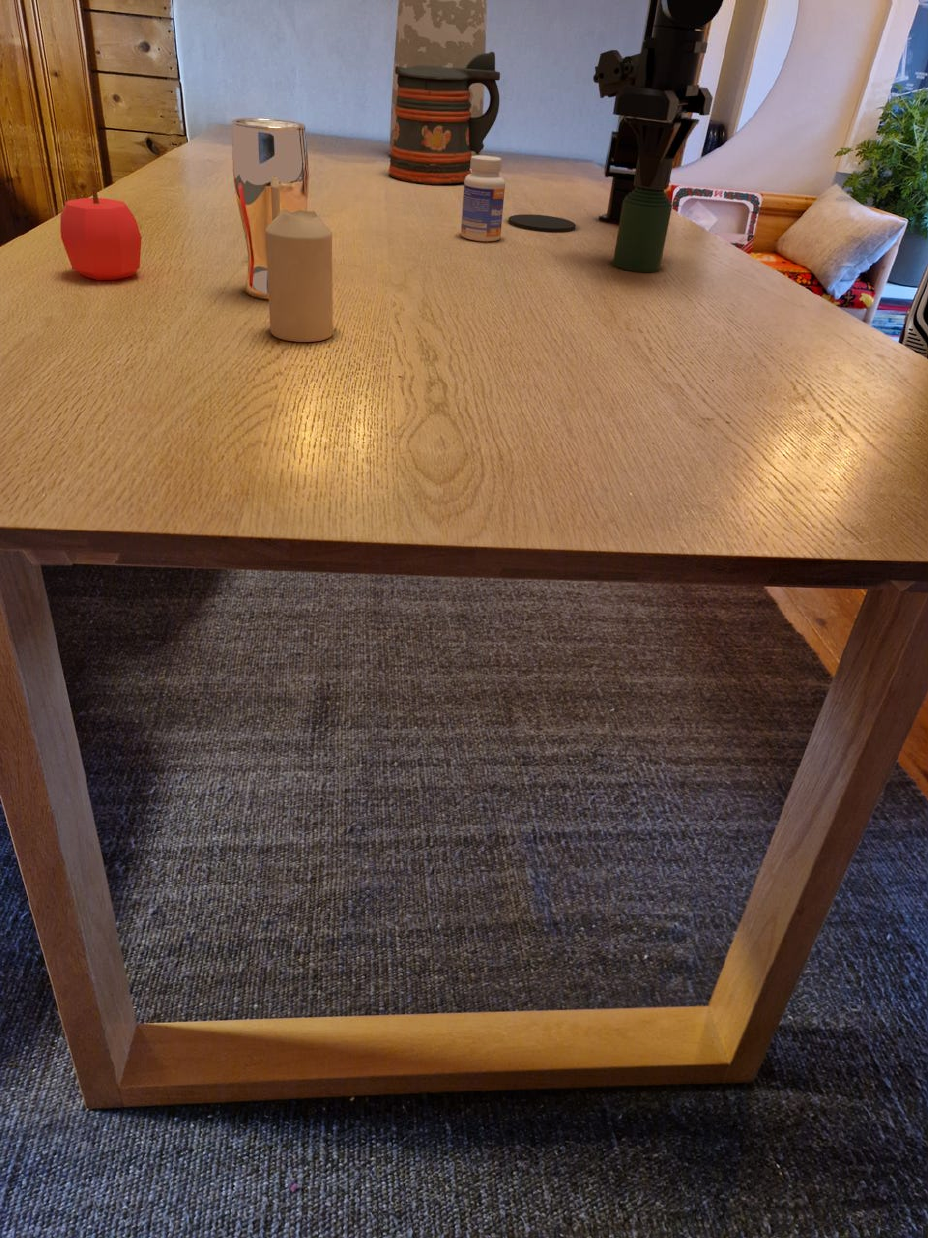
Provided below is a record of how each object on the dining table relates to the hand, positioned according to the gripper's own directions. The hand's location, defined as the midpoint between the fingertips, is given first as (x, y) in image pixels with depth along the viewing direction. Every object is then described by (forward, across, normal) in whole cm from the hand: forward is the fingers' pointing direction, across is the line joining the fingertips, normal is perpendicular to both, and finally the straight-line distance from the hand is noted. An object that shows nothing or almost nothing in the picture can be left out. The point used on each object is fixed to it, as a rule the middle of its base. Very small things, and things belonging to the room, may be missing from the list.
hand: (650, 183), depth 105 cm
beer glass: (+10, +42, -24) cm, 49 cm away
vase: (+10, -61, -65) cm, 90 cm away
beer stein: (+10, -39, -51) cm, 65 cm away
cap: (0, 0, 0) cm, 0 cm away
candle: (+10, +51, -14) cm, 54 cm away
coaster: (+10, -15, -20) cm, 27 cm away
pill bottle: (+10, +1, -22) cm, 24 cm away
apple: (+10, +49, -40) cm, 64 cm away
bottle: (+10, 0, 0) cm, 10 cm away
